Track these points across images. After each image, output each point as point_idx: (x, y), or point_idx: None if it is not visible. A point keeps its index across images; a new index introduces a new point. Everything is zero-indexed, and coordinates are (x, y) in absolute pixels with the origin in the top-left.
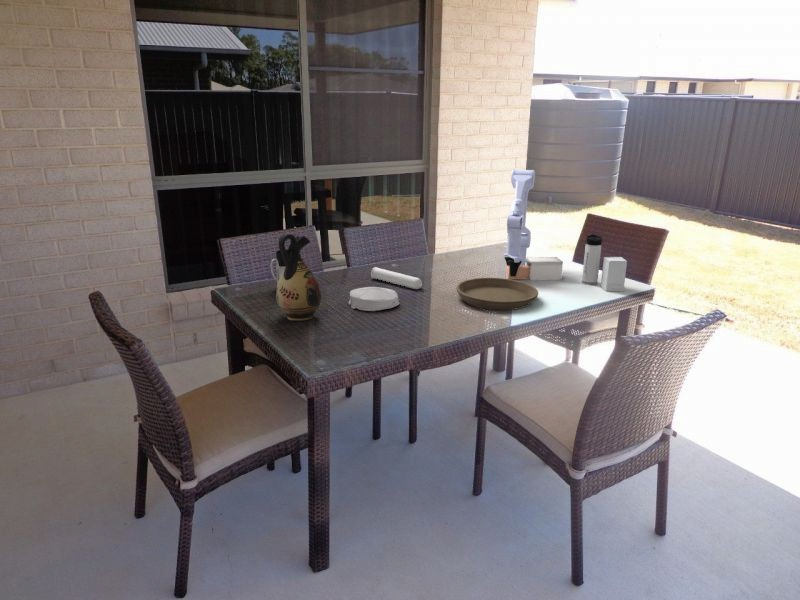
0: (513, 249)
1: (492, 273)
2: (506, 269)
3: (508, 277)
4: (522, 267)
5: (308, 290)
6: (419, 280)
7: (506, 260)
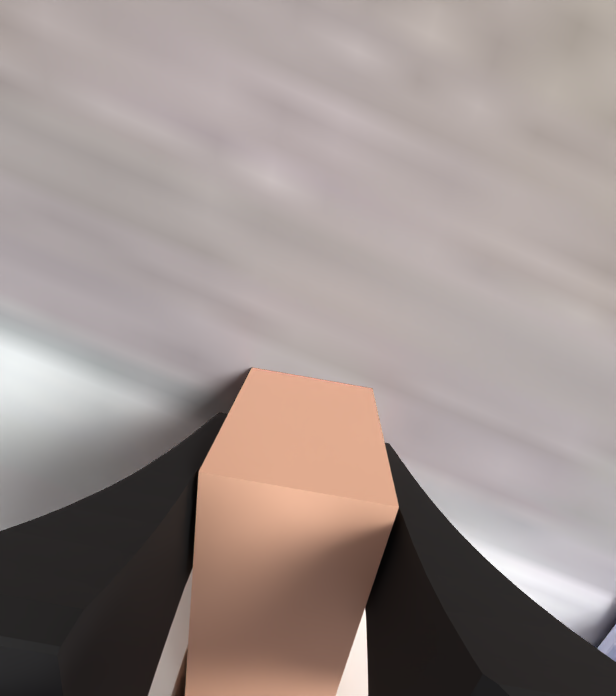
0: None
1: (608, 274)
2: (385, 450)
3: (247, 379)
4: (203, 657)
5: None
6: None
7: (446, 623)
